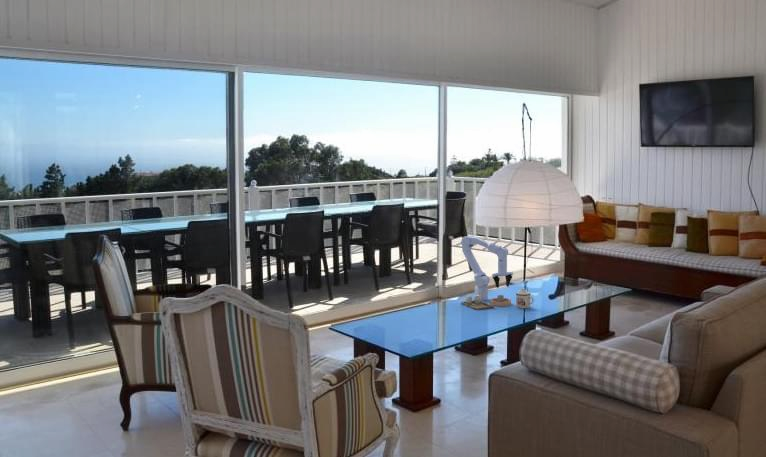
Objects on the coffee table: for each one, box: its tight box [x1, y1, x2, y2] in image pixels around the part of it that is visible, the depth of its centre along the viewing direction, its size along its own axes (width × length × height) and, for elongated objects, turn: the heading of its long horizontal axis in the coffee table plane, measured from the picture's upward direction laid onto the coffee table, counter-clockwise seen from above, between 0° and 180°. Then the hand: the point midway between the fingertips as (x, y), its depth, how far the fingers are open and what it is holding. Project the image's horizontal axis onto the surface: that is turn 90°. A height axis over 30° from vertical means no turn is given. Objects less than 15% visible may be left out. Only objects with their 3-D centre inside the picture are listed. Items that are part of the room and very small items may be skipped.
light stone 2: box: [473, 294, 481, 305], centre depth 457 cm, size 4×4×6 cm
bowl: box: [489, 297, 512, 307], centre depth 456 cm, size 13×13×3 cm
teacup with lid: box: [515, 288, 535, 309], centre depth 448 cm, size 12×9×12 cm
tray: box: [460, 300, 495, 311], centre depth 452 cm, size 20×13×2 cm, turn 23°
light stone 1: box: [465, 295, 473, 305], centre depth 455 cm, size 4×4×6 cm
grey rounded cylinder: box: [496, 294, 505, 302], centre depth 456 cm, size 4×4×6 cm
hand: (502, 286), depth 464 cm, fingers open, 7 cm apart
